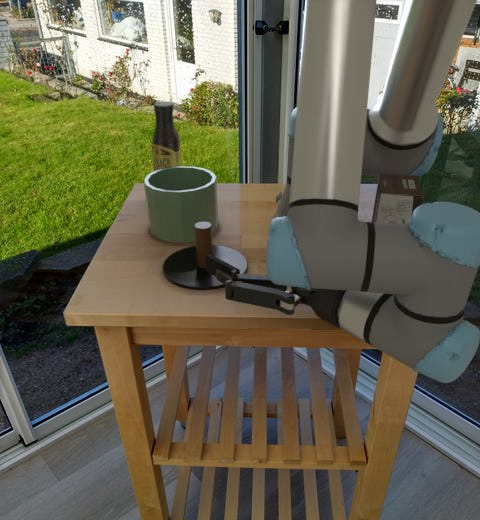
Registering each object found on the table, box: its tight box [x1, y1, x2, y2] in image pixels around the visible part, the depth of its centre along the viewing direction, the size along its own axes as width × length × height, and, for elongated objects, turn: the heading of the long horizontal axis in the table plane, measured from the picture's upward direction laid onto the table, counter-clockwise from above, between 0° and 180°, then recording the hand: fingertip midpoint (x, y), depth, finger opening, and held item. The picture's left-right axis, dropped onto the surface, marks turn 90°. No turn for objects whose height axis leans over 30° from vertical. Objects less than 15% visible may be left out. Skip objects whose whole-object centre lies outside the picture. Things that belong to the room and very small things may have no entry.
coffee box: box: [371, 174, 425, 224], centre depth 81 cm, size 9×6×16 cm
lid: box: [162, 222, 248, 291], centre depth 85 cm, size 15×15×9 cm
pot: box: [143, 165, 219, 243], centre depth 98 cm, size 14×14×10 cm
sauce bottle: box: [151, 100, 182, 172], centre depth 110 cm, size 7×6×20 cm
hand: (241, 247), depth 77 cm, fingers open, 13 cm apart
